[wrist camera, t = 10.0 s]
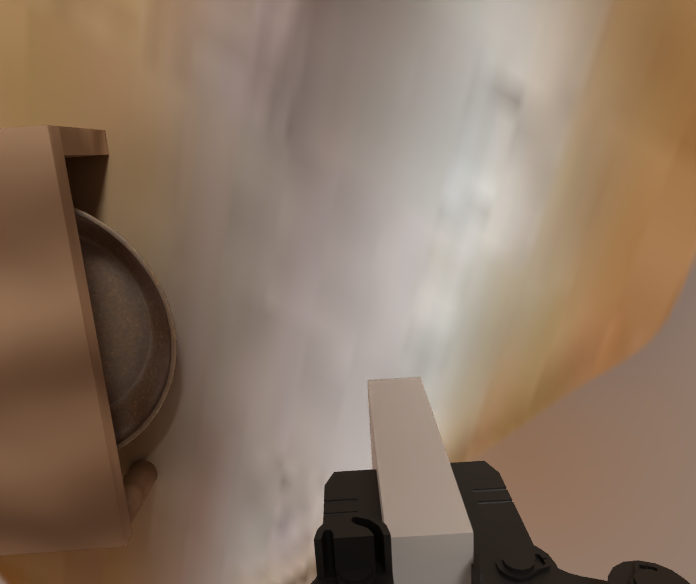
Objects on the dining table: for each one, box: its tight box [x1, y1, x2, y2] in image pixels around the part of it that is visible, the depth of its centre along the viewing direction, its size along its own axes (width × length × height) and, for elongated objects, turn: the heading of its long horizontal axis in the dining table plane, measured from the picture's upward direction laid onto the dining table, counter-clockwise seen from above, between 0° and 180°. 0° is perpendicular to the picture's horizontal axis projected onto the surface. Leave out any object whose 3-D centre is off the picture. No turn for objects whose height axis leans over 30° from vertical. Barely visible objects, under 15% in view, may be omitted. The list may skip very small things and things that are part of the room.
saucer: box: [73, 207, 177, 450], centre depth 31 cm, size 15×15×3 cm
